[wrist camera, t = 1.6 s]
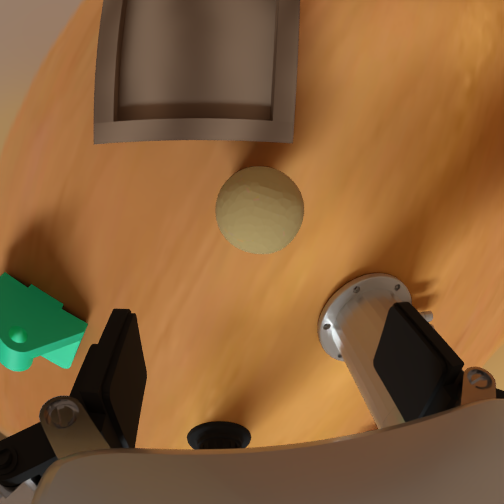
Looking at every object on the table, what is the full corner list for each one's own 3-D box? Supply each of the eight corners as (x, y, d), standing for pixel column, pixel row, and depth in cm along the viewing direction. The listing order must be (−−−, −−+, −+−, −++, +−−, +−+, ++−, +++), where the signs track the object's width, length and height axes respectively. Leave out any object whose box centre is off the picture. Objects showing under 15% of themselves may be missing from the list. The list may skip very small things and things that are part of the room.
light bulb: (228, 146, 28) (237, 158, 19) (293, 170, 29) (329, 194, 20) (205, 210, 30) (203, 252, 21) (267, 231, 32) (291, 278, 22)
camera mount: (0, 312, 32) (-37, 360, 22) (9, 267, 30) (-37, 314, 20) (74, 357, 35) (50, 416, 26) (90, 318, 33) (62, 379, 24)
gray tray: (280, -1, 23) (300, -31, 16) (273, 137, 28) (292, 143, 22) (130, -1, 21) (109, -30, 14) (120, 138, 26) (93, 144, 20)
